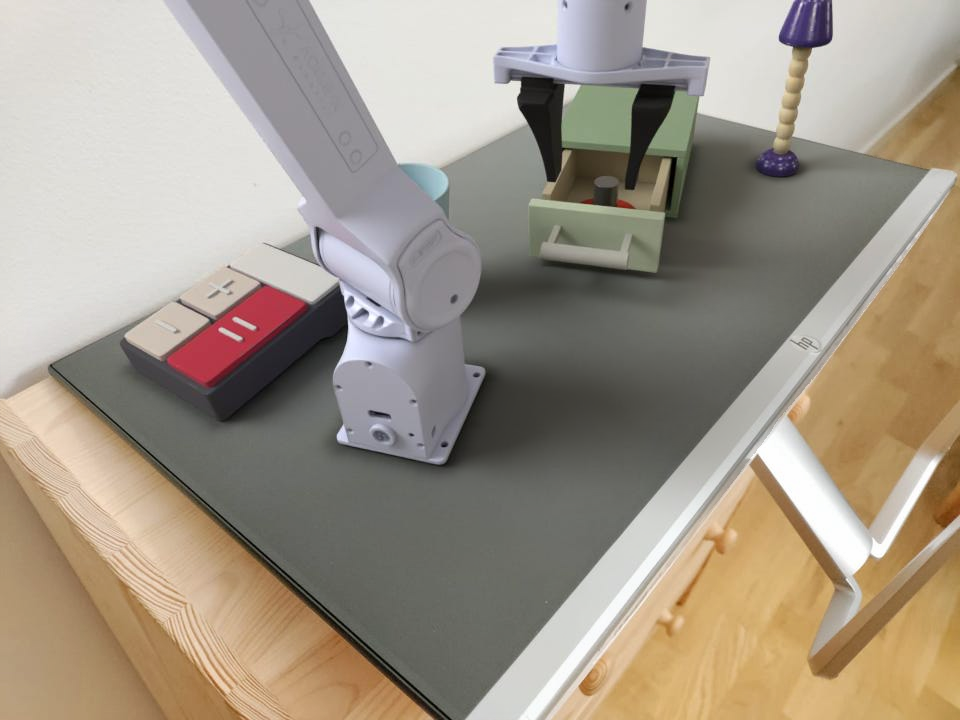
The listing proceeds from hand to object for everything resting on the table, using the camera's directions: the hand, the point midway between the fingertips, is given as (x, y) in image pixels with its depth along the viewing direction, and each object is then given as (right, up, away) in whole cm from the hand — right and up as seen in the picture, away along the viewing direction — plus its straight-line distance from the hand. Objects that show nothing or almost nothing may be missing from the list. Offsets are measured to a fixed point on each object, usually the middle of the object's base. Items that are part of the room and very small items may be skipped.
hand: (592, 179), depth 54 cm
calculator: (-27, -12, +4) cm, 30 cm away
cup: (-14, -8, +7) cm, 18 cm away
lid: (+3, -1, +11) cm, 11 cm away
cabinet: (+7, +6, +21) cm, 23 cm away
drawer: (+3, -2, +11) cm, 11 cm away
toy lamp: (+23, +6, +20) cm, 31 cm away
